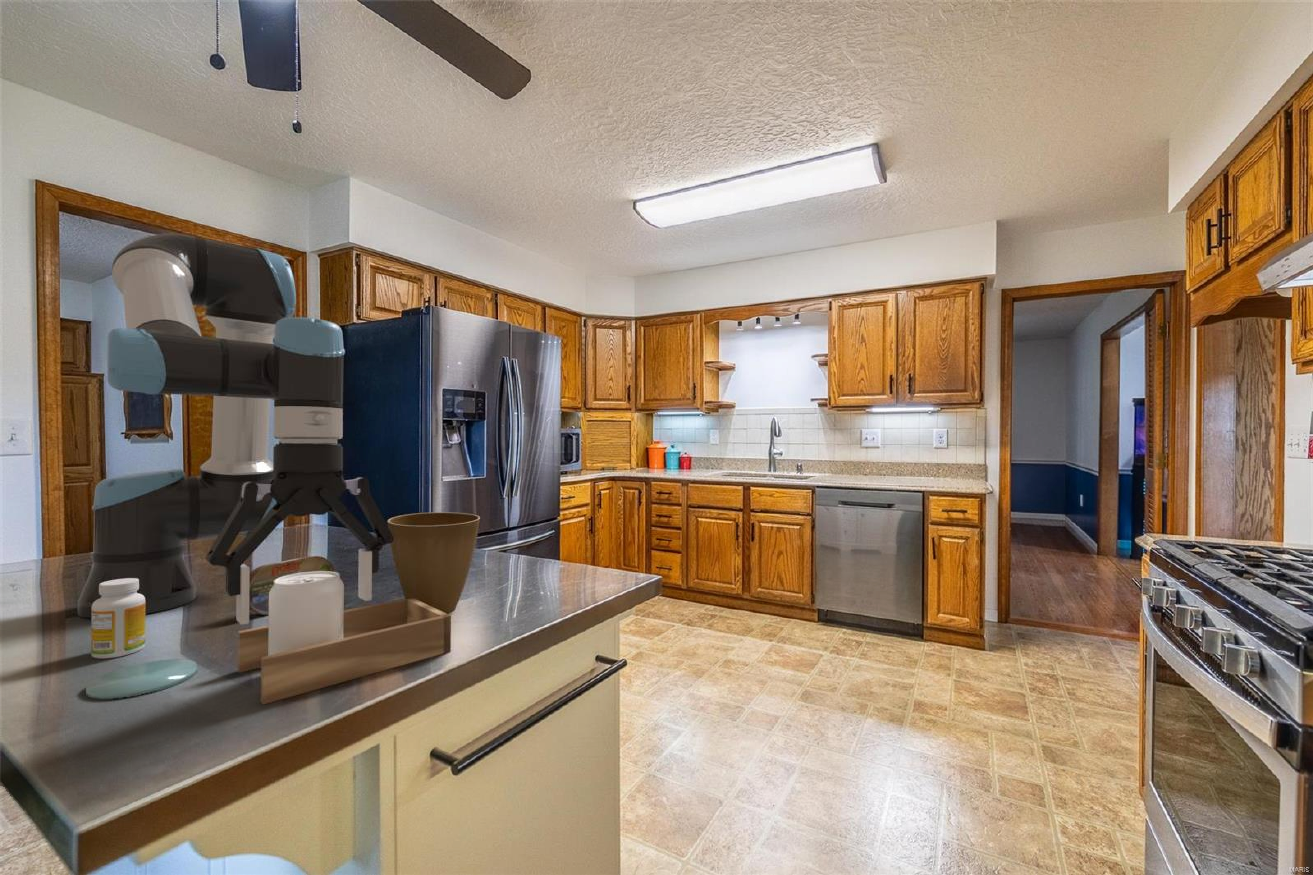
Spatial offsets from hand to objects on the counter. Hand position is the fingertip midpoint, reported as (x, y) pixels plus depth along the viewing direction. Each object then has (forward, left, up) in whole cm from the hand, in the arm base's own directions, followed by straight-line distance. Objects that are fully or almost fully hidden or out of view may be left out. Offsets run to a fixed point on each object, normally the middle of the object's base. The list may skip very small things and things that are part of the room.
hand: (308, 609), depth 72 cm
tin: (-33, +6, -8) cm, 34 cm away
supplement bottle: (-26, -16, -8) cm, 32 cm away
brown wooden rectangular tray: (0, +6, -8) cm, 10 cm away
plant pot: (-14, +23, -8) cm, 28 cm away
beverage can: (0, 0, -8) cm, 8 cm away
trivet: (-11, -14, -8) cm, 20 cm away
